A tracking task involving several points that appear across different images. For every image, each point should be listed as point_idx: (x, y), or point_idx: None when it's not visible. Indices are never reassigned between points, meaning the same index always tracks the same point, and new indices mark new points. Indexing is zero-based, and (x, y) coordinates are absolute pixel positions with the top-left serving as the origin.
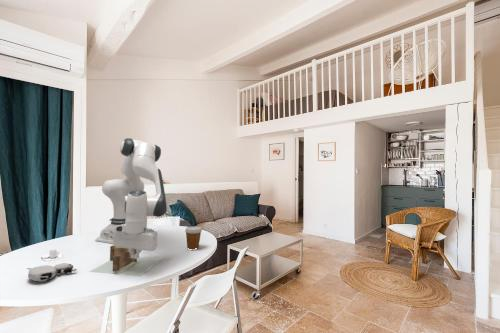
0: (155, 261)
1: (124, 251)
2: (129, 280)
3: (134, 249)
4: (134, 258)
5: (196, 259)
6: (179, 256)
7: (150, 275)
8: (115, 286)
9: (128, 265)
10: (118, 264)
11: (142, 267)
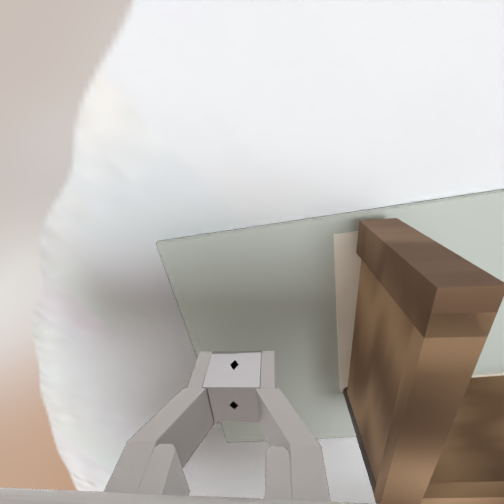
0: None
1: (482, 459)
2: (180, 168)
3: (379, 492)
4: (224, 351)
5: (84, 465)
6: None
7: (120, 277)
8: (191, 23)
9: None
10: (377, 267)
11: (247, 343)
